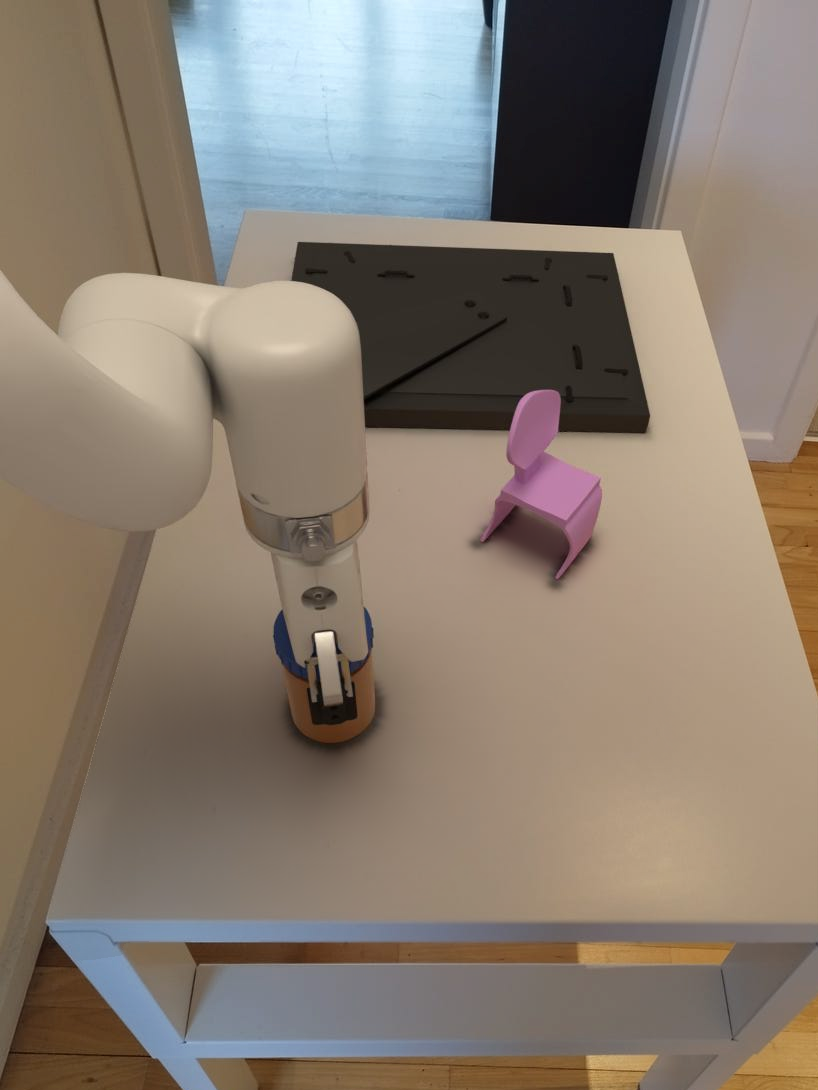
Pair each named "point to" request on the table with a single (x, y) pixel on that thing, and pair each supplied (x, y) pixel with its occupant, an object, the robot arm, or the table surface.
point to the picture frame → (484, 333)
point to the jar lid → (287, 654)
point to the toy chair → (546, 476)
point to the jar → (340, 731)
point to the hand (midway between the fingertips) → (326, 664)
